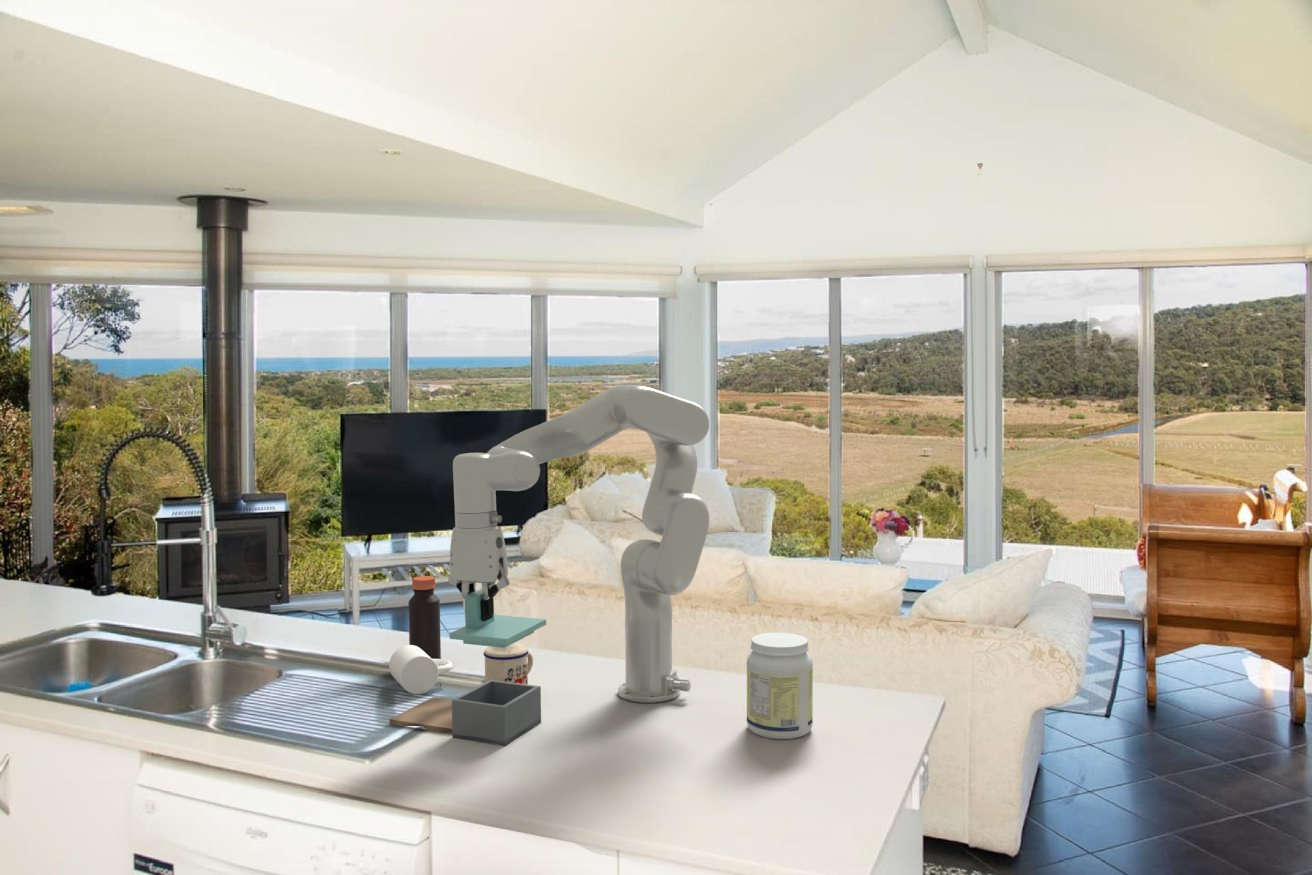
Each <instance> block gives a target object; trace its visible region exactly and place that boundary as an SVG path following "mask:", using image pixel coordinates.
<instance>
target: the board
mask: <svg viewBox="0 0 1312 875" xmlns="http://www.w3.org/2000/svg"><path fill="white" fill-rule="evenodd" d="M452 700H453V699H449V698H443V697H435V696H433V697H430V698H429V699H427V700H424V701H422V702H420V703H419V704H416V705H415V706H412V707H411V708H409V709H407V710H404V711H403V712H401V713H399V714H397V715H395V716H393V717H390V718H389V725H392V726H397V727H403V726H423V727H424V728H426V729H427V730H426V731H431V732H436V733H442V734H447V735H449V734H450V735H453V734H452Z"/></svg>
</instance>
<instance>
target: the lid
mask: <svg viewBox="0 0 1312 875" xmlns="http://www.w3.org/2000/svg"><path fill="white" fill-rule="evenodd" d="M463 599H464V618H465V619H464V620H465V626H463V627H460V628H459V629H456V630H454V631H452V632H449V640H457V641H458V640H459V641H462V643H463V644H464V645H474V646H481V647H489V646H491V647H501V648H505V647H507V646H509V645H511V644H513V643H515V642H516V643H517V642H518V641H520V640H522V639H524V638H525V637H528V636H531V635H532V634H534V633H535V631H537V630H538V629H541V628H542V627H544V626H547V619H546V618H535V617H534V618H533V617H522V616H512V615H500V614H495V613H494V614H493V618H491V619H489V620H487V621H482V620H481V600H482V599H483V596H482V588H479V589H478V590H476V591H475V592H473V593H470V594H468V595H465V596H464V598H463ZM493 605H495V603H494V597H493Z"/></svg>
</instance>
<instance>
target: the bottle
mask: <svg viewBox="0 0 1312 875" xmlns="http://www.w3.org/2000/svg"><path fill="white" fill-rule="evenodd" d="M411 579H412V580H411V581H412V583H411V584H412V586H411V587H412V591H413V595H412V597H410V599H409V600H408V634H409V635H408V639H409V640H408V641H409V642H408V643H409V644H408V645H414V646H417V647H419V648H420V649H422V650H423V651H424V652H425V653H426V654H427V655H428V656H429V657H430V658H432V659H442V656H441V655H442V654H441V653H442V651H441V650H442V649H441V645H442V644H441V643H442V642H441V601H440V598H439V597H438V596H437V595H436V594H435V590H436V589H435V588H436V578H435V577H434V576H432V575H422V576H421V575H420V576H415V577H413V578H411Z"/></svg>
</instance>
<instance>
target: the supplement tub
mask: <svg viewBox="0 0 1312 875" xmlns="http://www.w3.org/2000/svg"><path fill="white" fill-rule="evenodd" d="M808 642H809V640H808V638H806V637H805V636H803V635H800V634H798V633H796V634H795V633H790V632H764V633H759V634H756V635H755V636H752V638H751V644H750V649H751V651H750V653H749V654H748V655H747V656H746V725H747V727H748V729H749V730H750V731H751V732H752V733H753V734H755V735H758V736H760V737H762V738H767V739H772V740H790V739H792V740H793V739H797V738H800V737H801V738H802V737H804V736H806V735H807V734H808V733H809V732H810V731H811V730H812V728H813V724H814V722H813V717H814V716H813V706H814V705H813V701H814V700H813V696H814V695H813V678H814V676H813V672H814V671H813V670H814V668H813V667H814V664H813V662H814V661H813V658H812V656H811V655H810V653H808V652H809V649H810V647H809V646H808V645H809V644H808Z"/></svg>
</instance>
